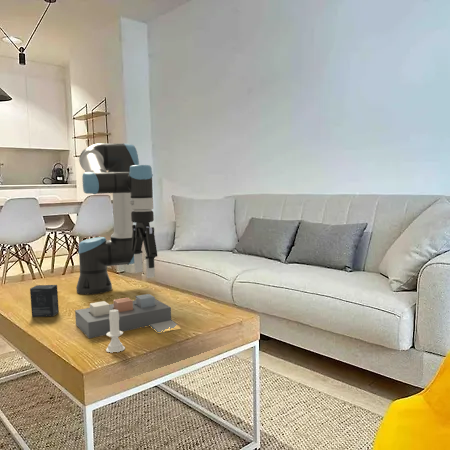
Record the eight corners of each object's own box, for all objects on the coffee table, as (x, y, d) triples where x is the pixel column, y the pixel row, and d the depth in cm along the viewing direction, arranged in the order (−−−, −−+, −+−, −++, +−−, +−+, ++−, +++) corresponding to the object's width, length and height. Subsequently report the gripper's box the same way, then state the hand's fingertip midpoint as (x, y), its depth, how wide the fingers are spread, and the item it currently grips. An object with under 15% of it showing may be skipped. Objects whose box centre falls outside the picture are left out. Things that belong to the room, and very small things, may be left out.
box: (59, 312, 163) (57, 284, 162) (53, 316, 158) (51, 288, 157) (38, 312, 163) (36, 284, 162) (31, 317, 158) (29, 288, 157)
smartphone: (158, 332, 138) (143, 318, 151) (158, 335, 138) (143, 321, 151) (182, 328, 142) (166, 315, 155) (182, 331, 142) (166, 317, 155)
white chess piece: (102, 352, 124) (100, 311, 122) (110, 345, 129) (108, 305, 128) (120, 353, 123) (118, 311, 121) (127, 346, 128) (126, 306, 127)
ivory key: (90, 315, 145) (89, 303, 145) (105, 312, 148) (104, 301, 148) (94, 319, 141) (94, 307, 141) (109, 316, 144) (109, 304, 143)
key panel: (75, 324, 148) (75, 310, 148) (152, 310, 163) (152, 297, 163) (88, 338, 135) (88, 322, 135) (171, 321, 150) (170, 307, 149)
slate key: (136, 307, 154) (135, 296, 153) (149, 304, 157) (149, 293, 156) (141, 310, 150) (141, 299, 149) (155, 308, 152) (154, 296, 152)
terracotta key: (113, 311, 150) (113, 299, 149) (127, 308, 152) (127, 297, 152) (118, 314, 145) (118, 302, 145) (133, 312, 148) (132, 300, 148)
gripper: (120, 209, 157) (122, 270, 159) (144, 212, 138) (147, 281, 140) (140, 208, 161) (142, 268, 163) (166, 211, 142) (168, 278, 144)
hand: (144, 274), depth 152 cm, fingers open, 10 cm apart
